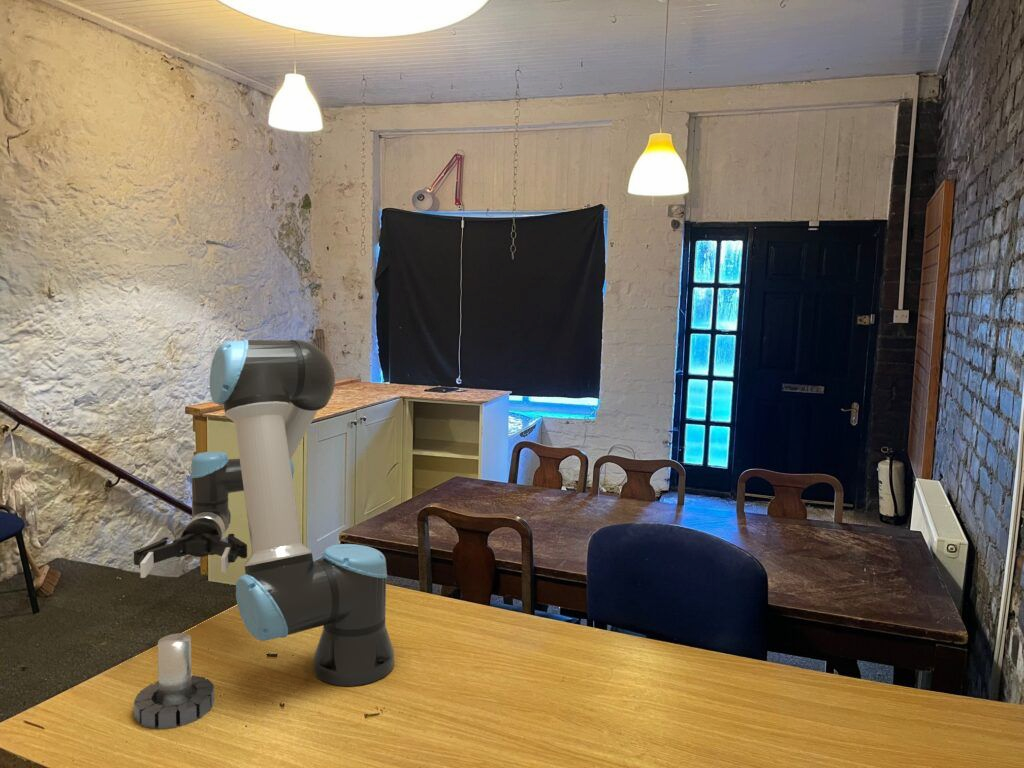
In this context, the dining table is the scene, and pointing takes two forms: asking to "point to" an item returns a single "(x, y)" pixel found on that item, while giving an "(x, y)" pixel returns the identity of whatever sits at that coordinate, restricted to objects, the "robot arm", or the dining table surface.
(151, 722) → the ring
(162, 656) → the cylinder
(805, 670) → the dining table surface
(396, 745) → the dining table surface
